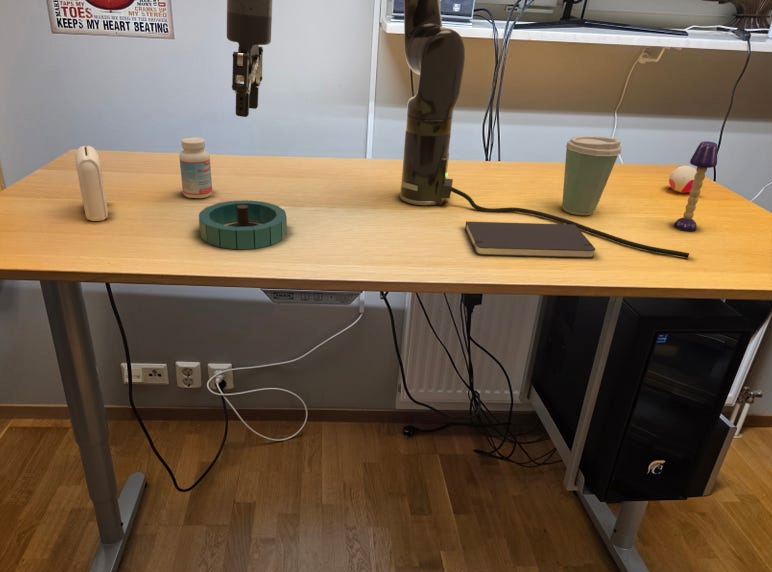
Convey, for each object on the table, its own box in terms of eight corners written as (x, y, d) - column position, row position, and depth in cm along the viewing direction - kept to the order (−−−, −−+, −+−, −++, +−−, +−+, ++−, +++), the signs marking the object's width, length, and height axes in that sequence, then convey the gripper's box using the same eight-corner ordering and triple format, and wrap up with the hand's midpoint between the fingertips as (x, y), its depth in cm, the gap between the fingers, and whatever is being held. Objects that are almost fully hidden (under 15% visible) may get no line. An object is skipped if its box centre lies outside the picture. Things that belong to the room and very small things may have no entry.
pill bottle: (206, 200, 135) (201, 145, 129) (178, 197, 136) (172, 142, 130) (217, 191, 140) (213, 137, 134) (190, 188, 141) (185, 135, 135)
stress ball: (676, 210, 150) (699, 191, 145) (654, 183, 152) (676, 163, 147) (692, 202, 154) (715, 184, 149) (671, 176, 156) (693, 157, 151)
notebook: (573, 232, 127) (464, 229, 126) (575, 224, 126) (465, 221, 126) (595, 258, 116) (476, 255, 116) (597, 250, 116) (477, 246, 115)
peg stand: (271, 227, 123) (270, 201, 121) (257, 243, 117) (256, 216, 114) (231, 223, 125) (229, 197, 122) (215, 238, 118) (213, 211, 115)
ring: (296, 222, 126) (296, 205, 124) (271, 253, 113) (270, 234, 111) (219, 214, 128) (218, 196, 127) (186, 243, 115) (184, 224, 114)
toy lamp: (684, 233, 129) (712, 147, 120) (665, 225, 132) (690, 140, 123) (700, 229, 131) (729, 144, 122) (681, 222, 134) (707, 138, 125)
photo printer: (84, 204, 130) (72, 141, 124) (107, 203, 131) (96, 140, 125) (85, 222, 122) (73, 155, 115) (109, 220, 123) (98, 154, 117)
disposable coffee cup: (543, 209, 138) (558, 136, 130) (567, 198, 144) (583, 128, 136) (590, 223, 132) (609, 147, 124) (613, 211, 138) (632, 138, 130)
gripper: (264, 16, 104) (260, 122, 112) (278, 12, 116) (274, 108, 125) (217, 10, 104) (217, 116, 112) (236, 7, 116) (235, 103, 125)
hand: (247, 112), depth 118 cm, fingers open, 8 cm apart
